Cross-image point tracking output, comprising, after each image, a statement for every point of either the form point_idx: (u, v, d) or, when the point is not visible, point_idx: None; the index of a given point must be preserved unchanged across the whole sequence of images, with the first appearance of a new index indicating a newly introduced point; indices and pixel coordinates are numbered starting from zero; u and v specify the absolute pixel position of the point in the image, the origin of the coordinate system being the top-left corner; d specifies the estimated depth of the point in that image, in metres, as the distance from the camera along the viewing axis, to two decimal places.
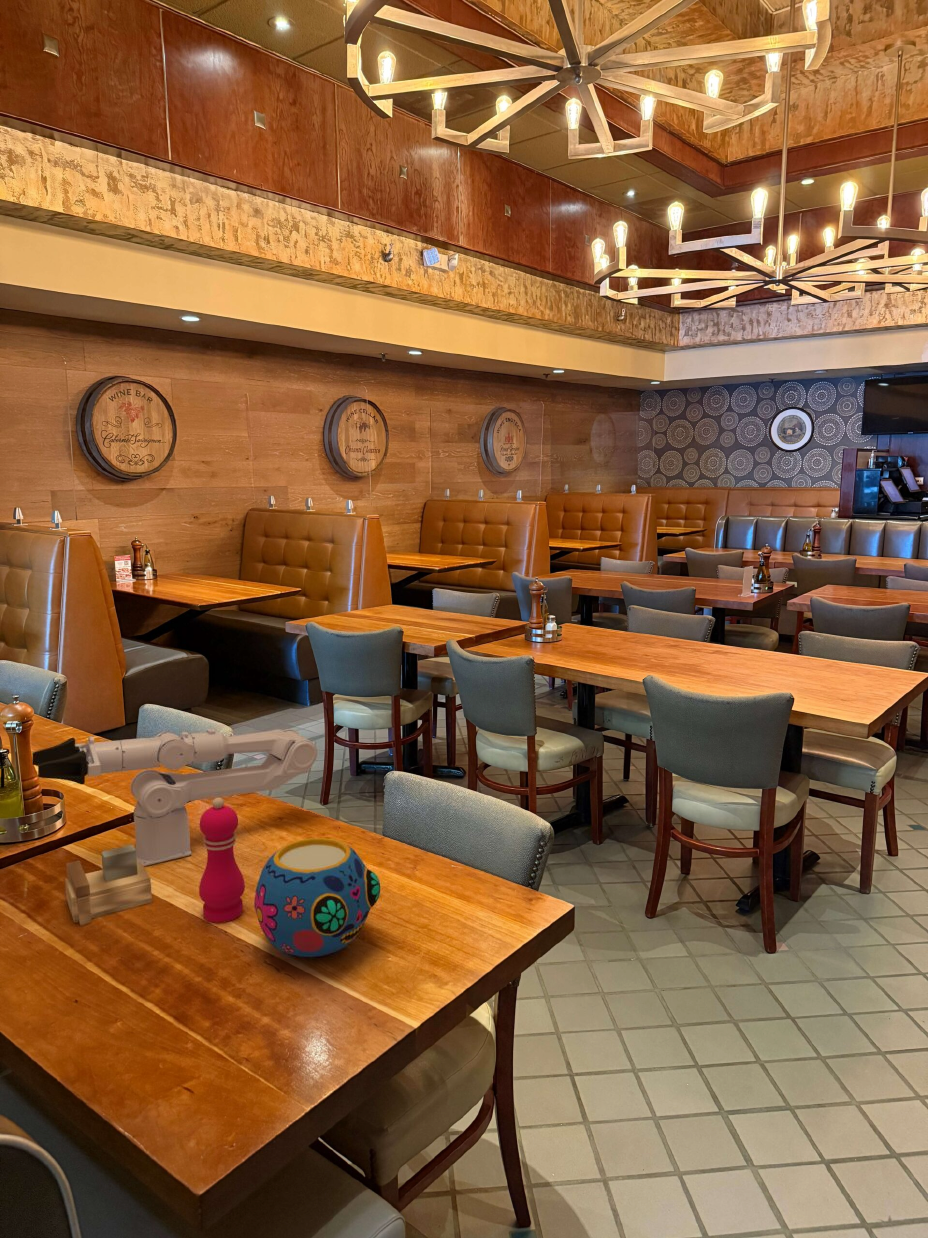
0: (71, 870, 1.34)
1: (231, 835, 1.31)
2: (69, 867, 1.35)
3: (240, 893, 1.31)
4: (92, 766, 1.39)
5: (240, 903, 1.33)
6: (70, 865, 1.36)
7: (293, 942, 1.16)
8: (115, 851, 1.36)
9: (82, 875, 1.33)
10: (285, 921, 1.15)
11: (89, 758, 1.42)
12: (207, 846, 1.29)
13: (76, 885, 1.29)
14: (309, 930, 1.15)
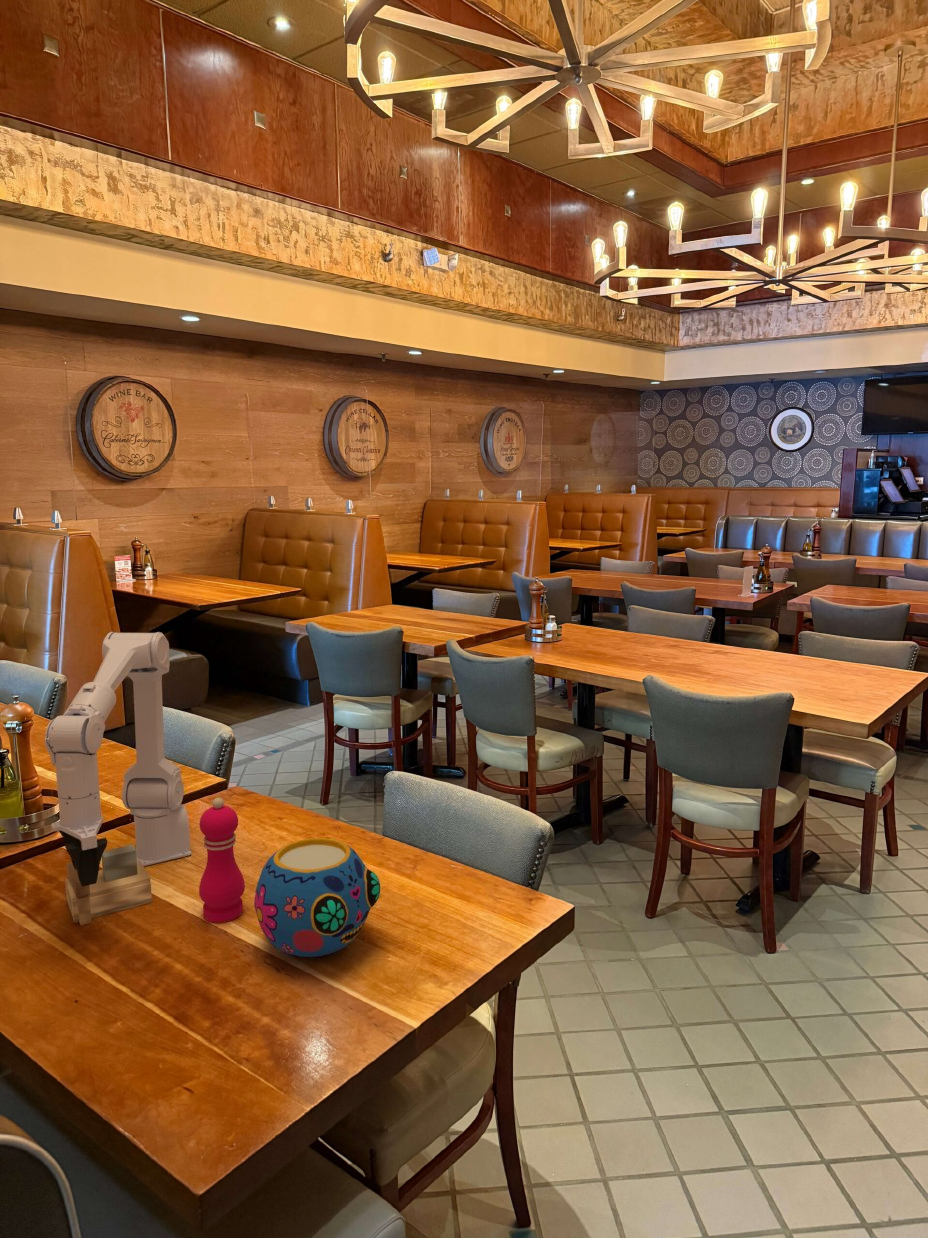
0: (71, 870, 1.34)
1: (231, 835, 1.31)
2: (69, 867, 1.35)
3: (240, 893, 1.31)
4: (83, 846, 1.18)
5: (240, 903, 1.33)
6: (70, 865, 1.36)
7: (293, 942, 1.16)
8: (115, 851, 1.36)
9: None
10: (285, 921, 1.15)
11: None
12: (207, 846, 1.29)
13: (76, 885, 1.29)
14: (309, 930, 1.15)
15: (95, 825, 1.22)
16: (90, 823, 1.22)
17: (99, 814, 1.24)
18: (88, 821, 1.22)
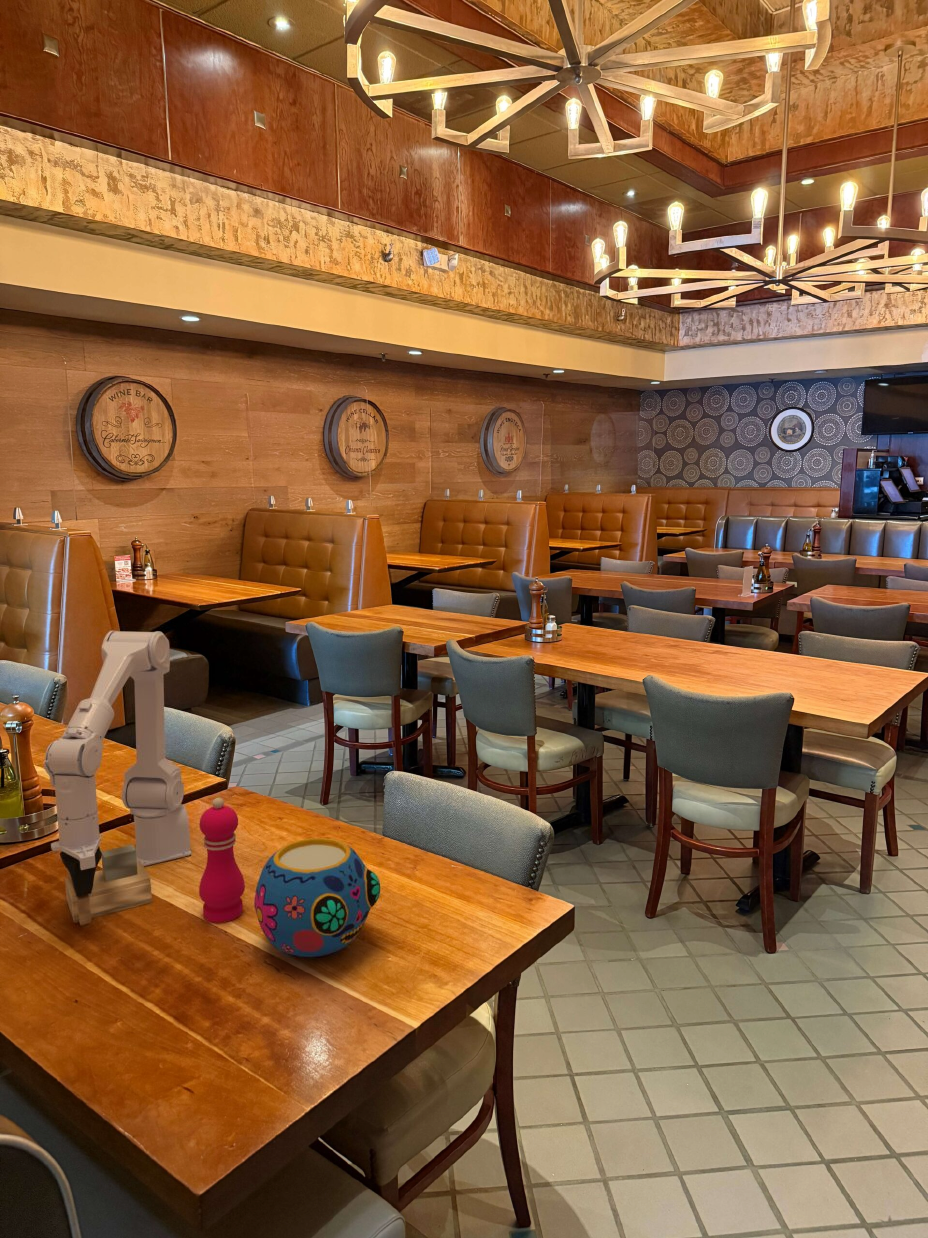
0: None
1: (231, 835, 1.31)
2: None
3: (240, 893, 1.31)
4: (82, 866, 1.21)
5: (240, 902, 1.33)
6: None
7: (293, 942, 1.16)
8: (115, 851, 1.36)
9: None
10: (285, 921, 1.15)
11: None
12: (207, 846, 1.29)
13: None
14: (309, 930, 1.15)
15: (93, 845, 1.26)
16: (88, 843, 1.26)
17: (97, 834, 1.27)
18: (87, 841, 1.25)
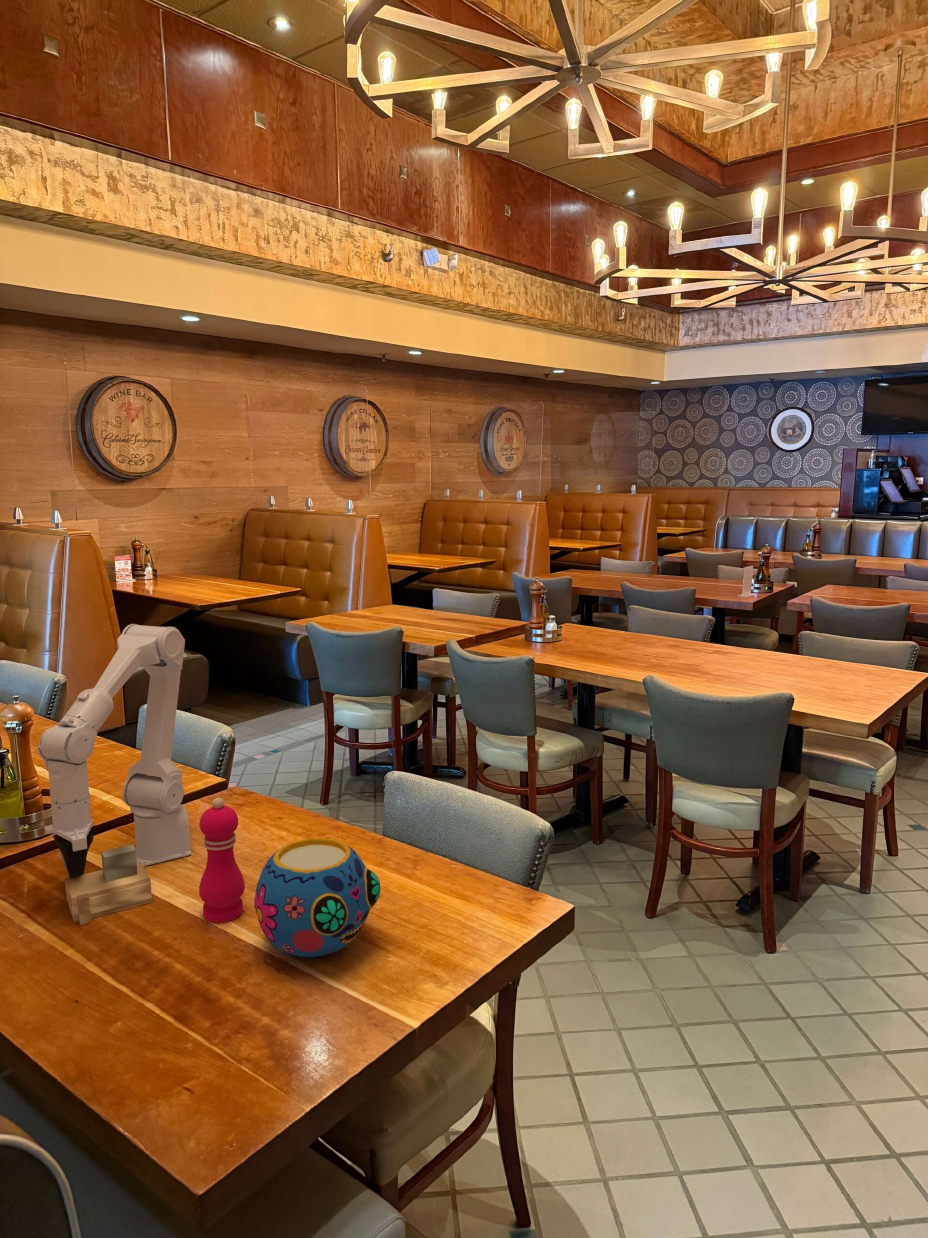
0: None
1: (231, 835, 1.31)
2: None
3: (240, 893, 1.31)
4: (74, 848, 1.27)
5: (240, 902, 1.33)
6: None
7: (293, 942, 1.16)
8: (115, 851, 1.36)
9: None
10: (285, 921, 1.15)
11: None
12: (207, 846, 1.29)
13: None
14: (309, 930, 1.15)
15: (85, 828, 1.32)
16: (81, 826, 1.32)
17: (89, 818, 1.33)
18: (79, 824, 1.31)
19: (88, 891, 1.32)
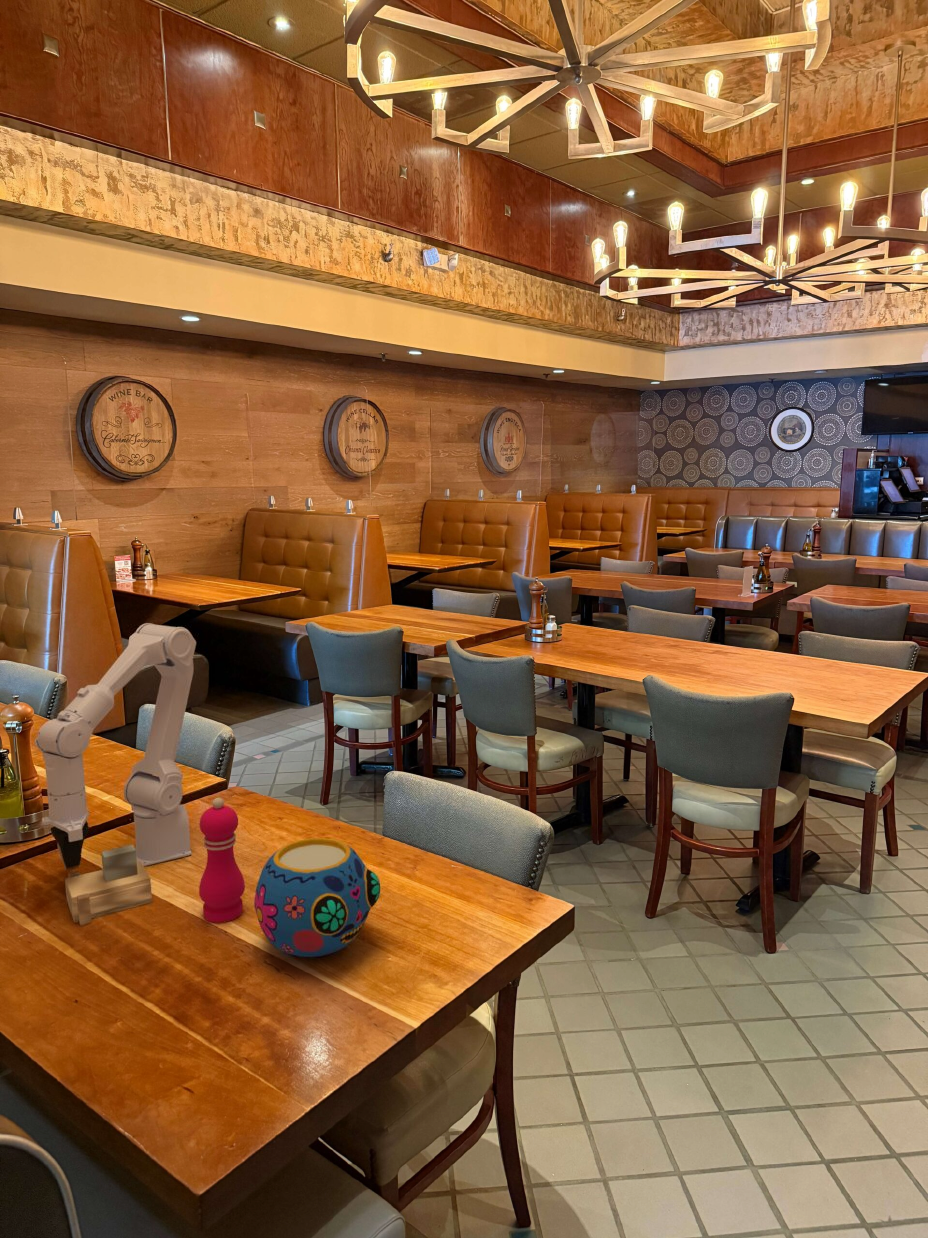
0: None
1: (231, 835, 1.31)
2: None
3: (240, 893, 1.31)
4: (70, 838, 1.30)
5: (240, 902, 1.33)
6: None
7: (293, 942, 1.16)
8: (115, 851, 1.36)
9: None
10: (285, 921, 1.15)
11: None
12: (207, 846, 1.29)
13: None
14: (309, 930, 1.15)
15: (81, 819, 1.35)
16: (77, 818, 1.35)
17: (85, 810, 1.37)
18: (75, 815, 1.35)
19: (88, 891, 1.32)
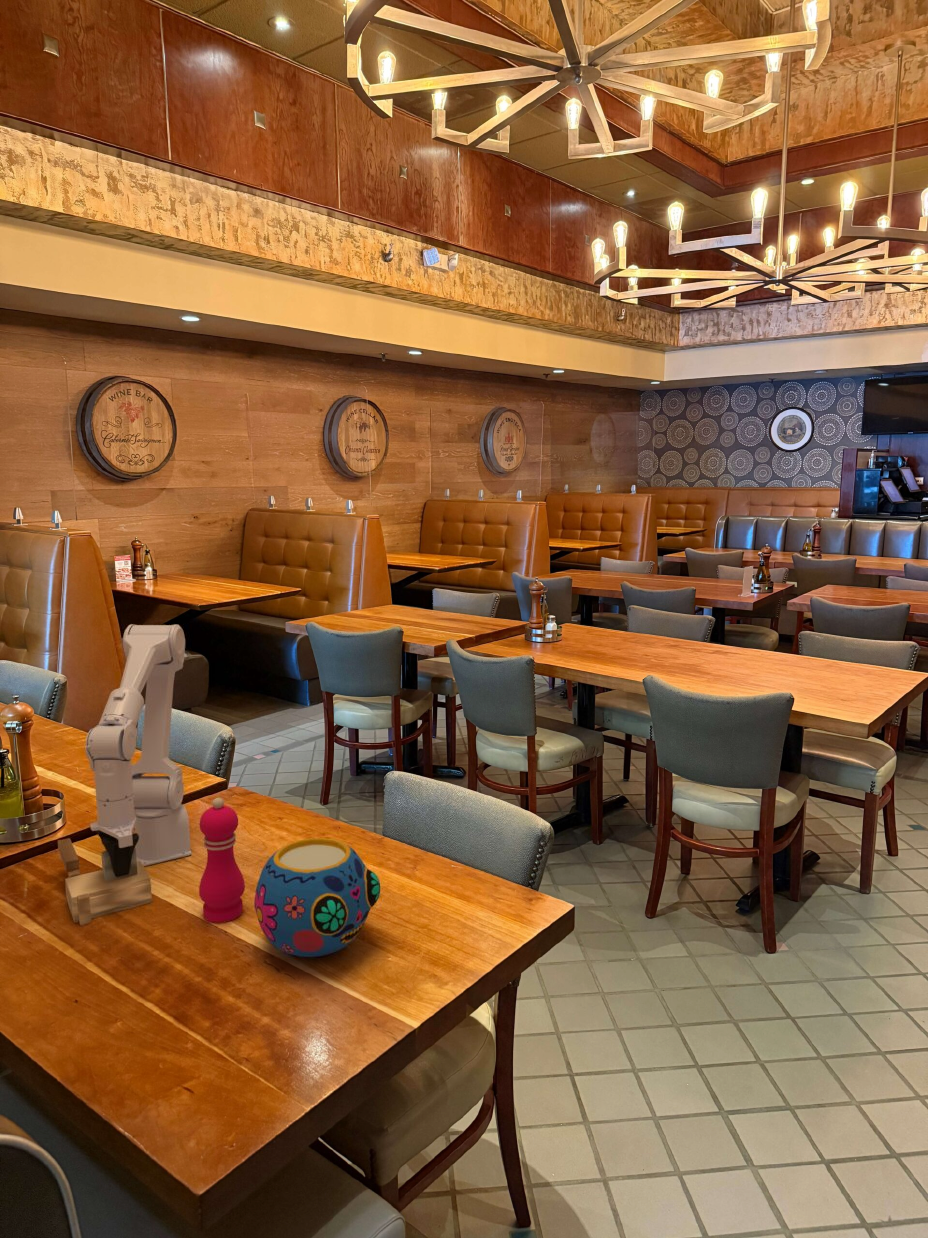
0: (62, 846, 1.43)
1: (231, 835, 1.31)
2: (60, 844, 1.44)
3: (240, 893, 1.31)
4: (120, 844, 1.29)
5: (240, 903, 1.33)
6: (61, 842, 1.45)
7: (293, 942, 1.16)
8: None
9: (72, 851, 1.41)
10: (285, 921, 1.15)
11: None
12: (207, 846, 1.29)
13: (66, 860, 1.38)
14: (309, 930, 1.15)
15: (130, 825, 1.34)
16: (125, 823, 1.34)
17: (133, 815, 1.36)
18: (124, 821, 1.33)
19: (88, 891, 1.32)
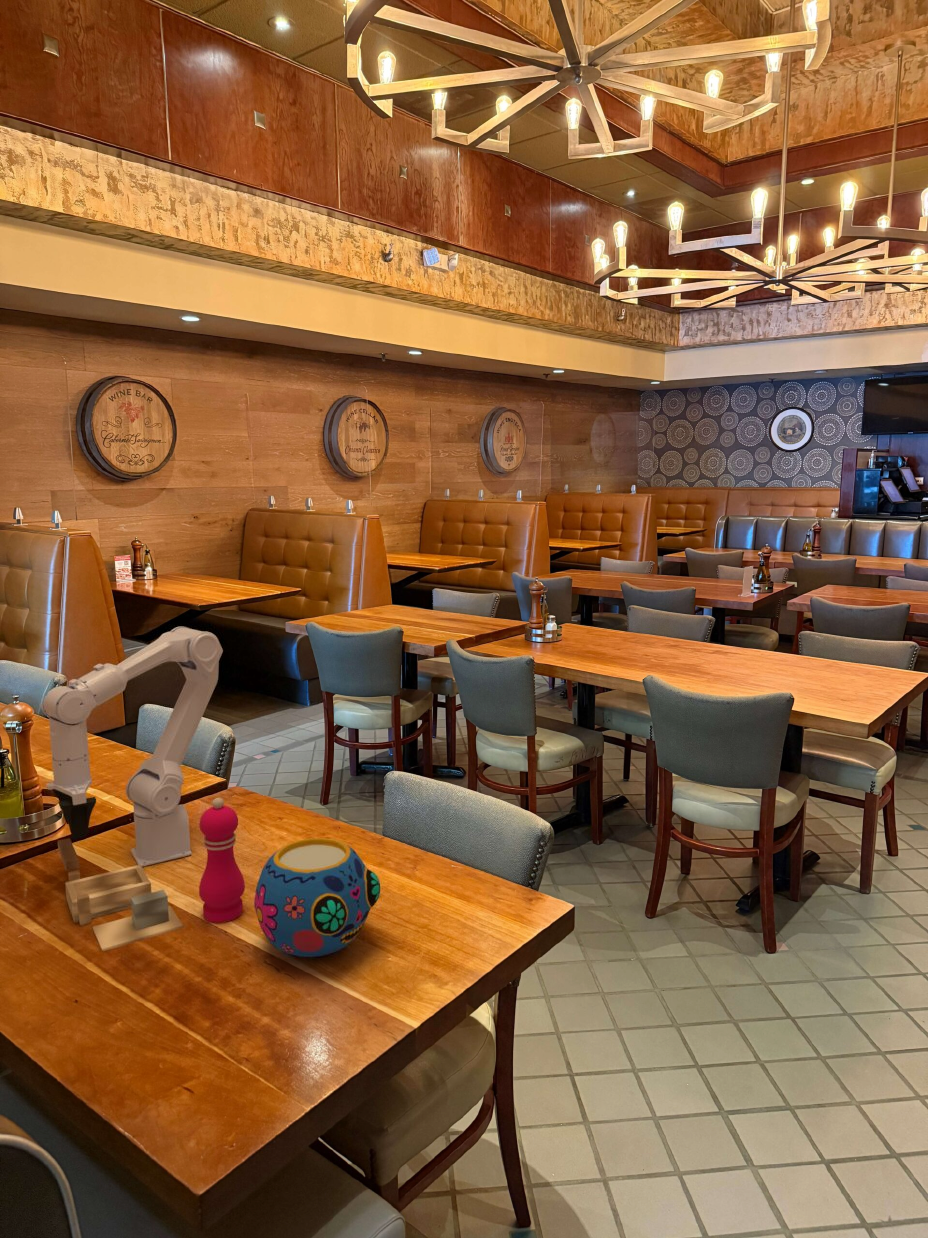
0: (62, 846, 1.43)
1: (231, 835, 1.31)
2: (60, 844, 1.44)
3: (240, 893, 1.31)
4: (74, 802, 1.34)
5: (240, 902, 1.33)
6: (61, 842, 1.45)
7: (293, 942, 1.16)
8: (146, 897, 1.29)
9: (72, 851, 1.41)
10: (285, 921, 1.15)
11: None
12: (207, 846, 1.29)
13: (66, 860, 1.38)
14: (309, 930, 1.15)
15: (85, 784, 1.39)
16: (80, 783, 1.38)
17: (88, 775, 1.40)
18: (79, 780, 1.38)
19: (118, 941, 1.24)
